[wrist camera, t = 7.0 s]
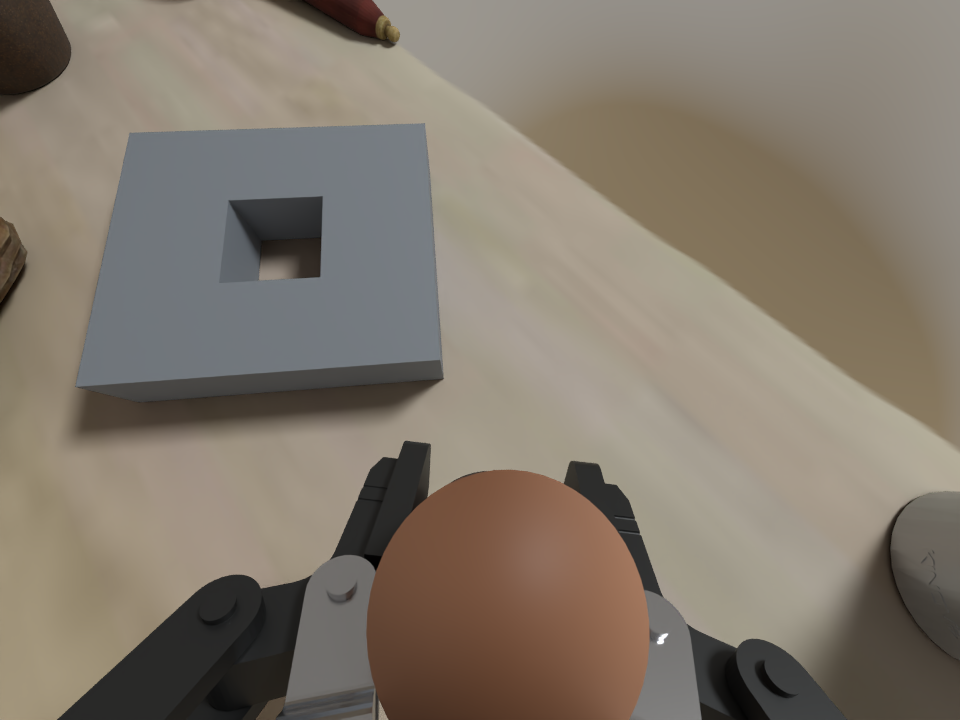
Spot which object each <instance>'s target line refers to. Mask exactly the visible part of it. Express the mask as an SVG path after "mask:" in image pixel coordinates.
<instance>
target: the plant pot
mask: <svg viewBox="0 0 960 720" xmlns="http://www.w3.org/2000/svg"><path fill="white" fill-rule="evenodd" d="M70 55H71V46H70V43H69V40H68V38H67V36H66V34H65V32H64V30H63V27H62V25H61V23H60V21H59V19H58V17H57V15H56V13H55V11H54V9H53V7H52V5H51V3H50V1H49V0H0V94H18V93H23V92H27V91H31V90H34V89H36V88H39V87H41V86H43V85H45V84H47V83H49V82H50V81H52V80H53V79H54V78H56V77H57V76H58V75H59V74H60V73H61V72H62V71H63V70H64V69H65V68H66V66H67V64H68V62H69V59H70Z"/></svg>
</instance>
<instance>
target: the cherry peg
mask: <svg viewBox="0 0 960 720" xmlns="http://www.w3.org/2000/svg"><path fill="white" fill-rule="evenodd" d="M366 637H367V651H368V659H369V664H370V670H371V675H372V679H373V682H374V685H375V688H376V692H377V695H378V698H379V700H380V702H381V705H382V707H383V709H384V711H385V713H386V716H387V718H388V719H389V720H629V719H630V717H631V715H632V713H633V710H634V708H635V706H636V704H637V701H638V698H639V695H640V692H641V689H642V686H643V683H644V678H645V673H646V668H647V664H648V653H649V642H650V641H649V617H648V609H647V602H646V597H645V593H644V589H643V585H642V581H641V578H640V575H639V573H638V570H637V567H636V565H635V562H634V560H633V558H632V556H631V554H630V552H629V550H628V548H627V546H626V544H625V542H624V541H623V539H622V538H621V536H620V535H619V533H618V532H617V530H616V529H615V527H614V526H613V525H612V524H611V522H610V521H609V520H608V519H607V518H606V516H605V515H604V514H603V513H602V512H601V511H600V510H599V509H598V508H597V507H596V506H595V505H593V504H592V503H591V502H590V501H589V500H588V499H586V498H585V497H584V496H582V495H581V494H580V493H578V492H577V491H575V490H574V489H572V488H570V487H568V486H566V485H565V484H563V483H561V482H559V481H556V480H554V479H551V478H549V477H546V476H544V475H539V474H535V473H531V472H527V471H517V470H493V471H482V472H476V473H471V474H468V475H465V476H463V477H460V478H458V479H456V480H454V481H453V482H451V483H450V484H448V485H446V486H444V487H442V488H441V489H439V490H438V491H436V492H435V493H433V494H432V495H430V496H429V497H428V498H427V499H425V500H424V501H423V502H422V503H421V504H419V505H418V506H417V507H416V508H415V509H414V510H413V511H412V512H411V514H410V515H409V516H408V517H407V518H406V519H405V520H404V521H403V523H402V524H401V526H400V527H399V528H398V530H397V531H396V532H395V534H394V535H393V537H392V539H391V541H390V542H389V544H388V546H387V548H386V550H385V551H384V553H383V556H382V558H381V561H380V563H379V566H378V568H377V570H376V574H375V577H374V581H373V584H372V588H371V592H370V598H369V604H368V610H367V629H366Z"/></svg>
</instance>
